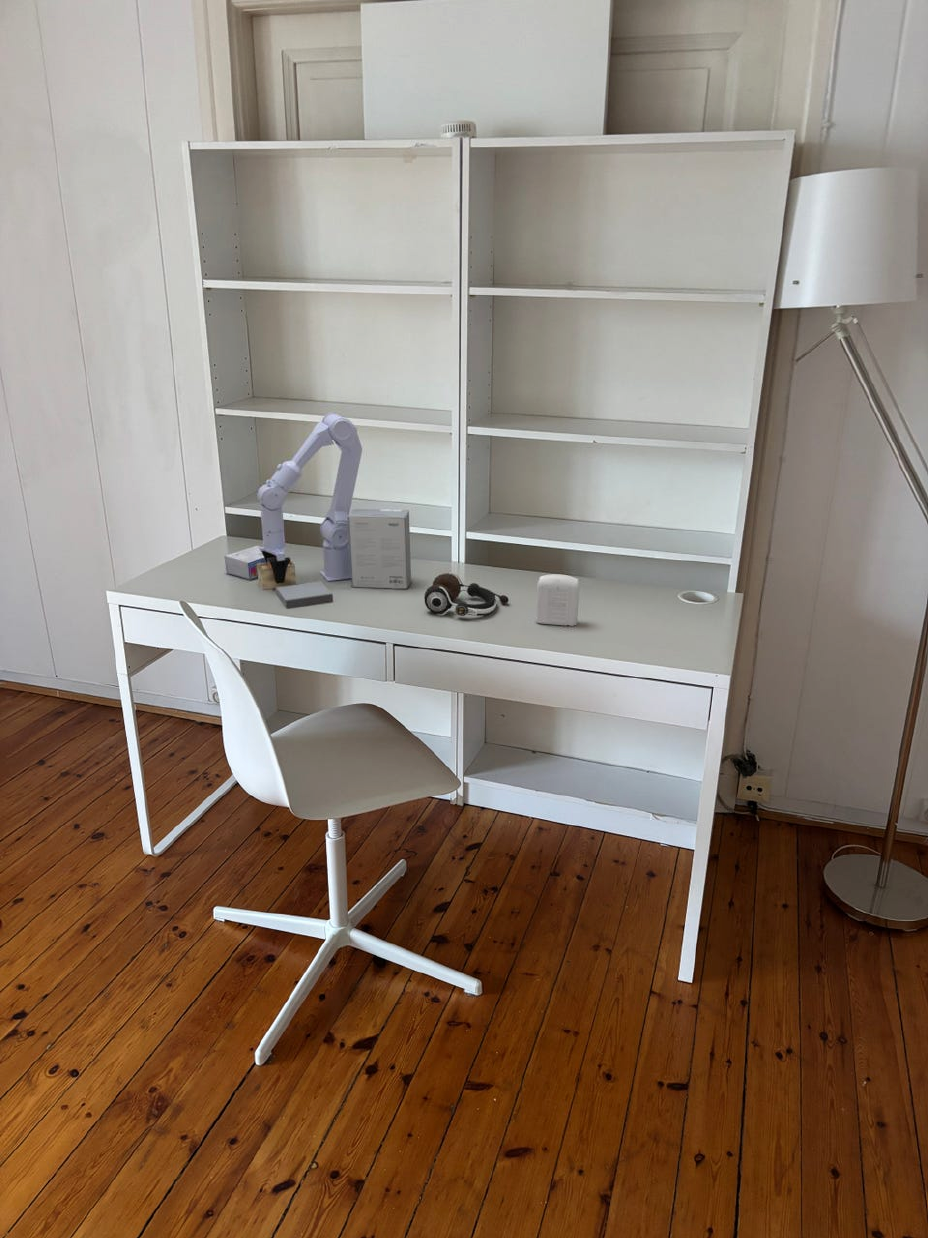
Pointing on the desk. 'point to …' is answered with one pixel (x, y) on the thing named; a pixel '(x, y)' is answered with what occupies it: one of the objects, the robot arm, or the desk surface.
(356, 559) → the hard drive box
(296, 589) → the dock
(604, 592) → the desk surface
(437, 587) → the headset
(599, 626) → the desk surface
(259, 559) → the ink cartridge box
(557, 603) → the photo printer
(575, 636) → the desk surface
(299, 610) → the desk surface
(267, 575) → the tan mottled box
